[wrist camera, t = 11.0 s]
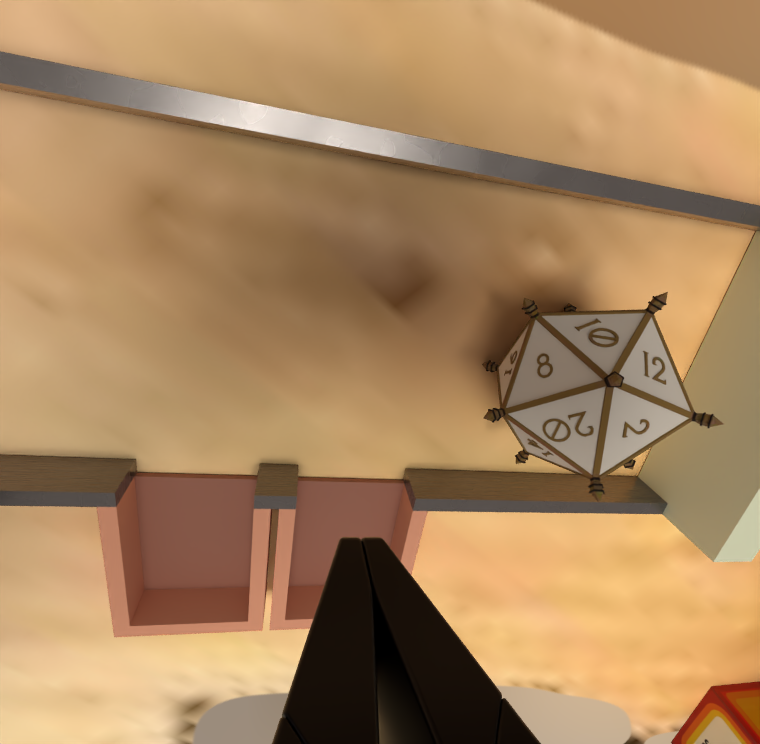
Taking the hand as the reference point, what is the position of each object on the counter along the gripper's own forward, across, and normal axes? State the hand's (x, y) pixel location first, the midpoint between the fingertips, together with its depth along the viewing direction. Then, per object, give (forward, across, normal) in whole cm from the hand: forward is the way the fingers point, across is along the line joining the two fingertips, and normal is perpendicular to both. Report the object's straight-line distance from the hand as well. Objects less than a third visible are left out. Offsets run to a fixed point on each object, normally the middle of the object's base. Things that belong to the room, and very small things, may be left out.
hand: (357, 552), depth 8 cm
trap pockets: (+13, +2, +13) cm, 18 cm away
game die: (+13, -11, 0) cm, 17 cm away
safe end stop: (+13, -22, 0) cm, 25 cm away
